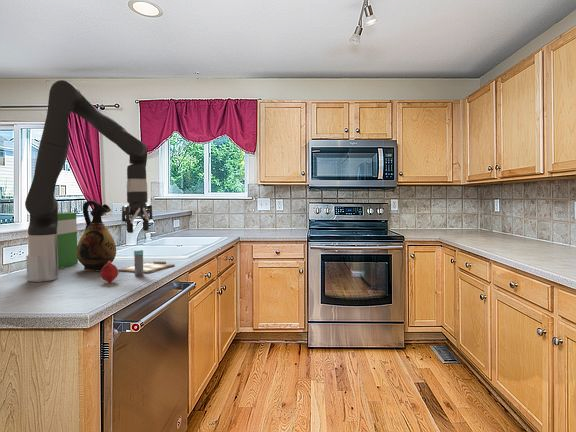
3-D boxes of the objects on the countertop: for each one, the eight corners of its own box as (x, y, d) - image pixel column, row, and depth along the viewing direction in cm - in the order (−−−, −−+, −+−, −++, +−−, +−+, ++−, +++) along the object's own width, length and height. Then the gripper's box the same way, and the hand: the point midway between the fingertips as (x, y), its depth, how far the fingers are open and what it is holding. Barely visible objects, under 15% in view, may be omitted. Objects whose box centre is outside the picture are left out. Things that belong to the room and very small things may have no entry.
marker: (139, 276, 150) (138, 251, 150) (132, 276, 152) (132, 250, 151) (145, 275, 154) (145, 250, 153) (138, 274, 155) (138, 249, 154)
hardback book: (54, 270, 164) (52, 214, 162) (37, 270, 164) (34, 214, 163) (77, 263, 181) (76, 212, 180) (62, 263, 181) (60, 212, 180)
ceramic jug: (124, 266, 172) (122, 199, 170) (101, 273, 157) (99, 200, 155) (90, 265, 175) (88, 199, 173) (65, 272, 160) (62, 200, 158)
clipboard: (147, 273, 156) (147, 269, 156) (118, 271, 161) (118, 266, 161) (174, 266, 173) (174, 262, 173) (147, 264, 178) (147, 260, 178)
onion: (109, 285, 136) (108, 262, 136) (97, 283, 138) (96, 261, 138) (121, 281, 142) (121, 260, 141) (109, 280, 144) (109, 259, 143)
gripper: (142, 191, 159) (143, 229, 160) (115, 190, 145) (117, 233, 146) (157, 190, 156) (157, 230, 157) (131, 190, 143) (132, 233, 144)
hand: (138, 231), depth 152 cm, fingers open, 8 cm apart
